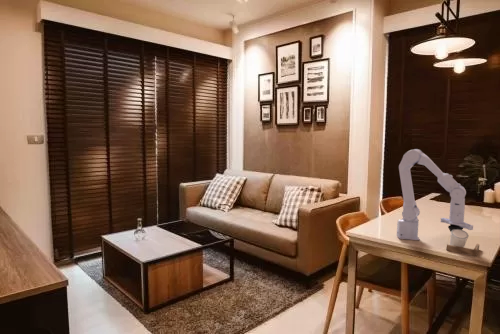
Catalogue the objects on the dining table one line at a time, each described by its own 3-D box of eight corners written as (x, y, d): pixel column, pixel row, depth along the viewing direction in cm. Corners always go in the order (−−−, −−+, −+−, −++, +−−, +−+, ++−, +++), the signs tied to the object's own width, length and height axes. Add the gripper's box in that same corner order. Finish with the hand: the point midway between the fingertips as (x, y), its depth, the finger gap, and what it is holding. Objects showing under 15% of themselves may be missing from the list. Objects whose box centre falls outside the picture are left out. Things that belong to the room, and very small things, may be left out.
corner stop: (493, 256, 143) (494, 250, 143) (459, 257, 142) (459, 251, 142) (477, 248, 152) (478, 243, 152) (445, 249, 151) (445, 244, 151)
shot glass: (461, 253, 149) (464, 241, 146) (445, 245, 154) (448, 233, 151) (468, 245, 153) (471, 233, 149) (452, 238, 158) (455, 226, 154)
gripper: (436, 209, 160) (435, 237, 161) (466, 216, 147) (464, 247, 148) (447, 208, 163) (445, 235, 164) (477, 215, 149) (475, 244, 151)
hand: (455, 241), depth 156 cm, fingers closed, pressing on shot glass
